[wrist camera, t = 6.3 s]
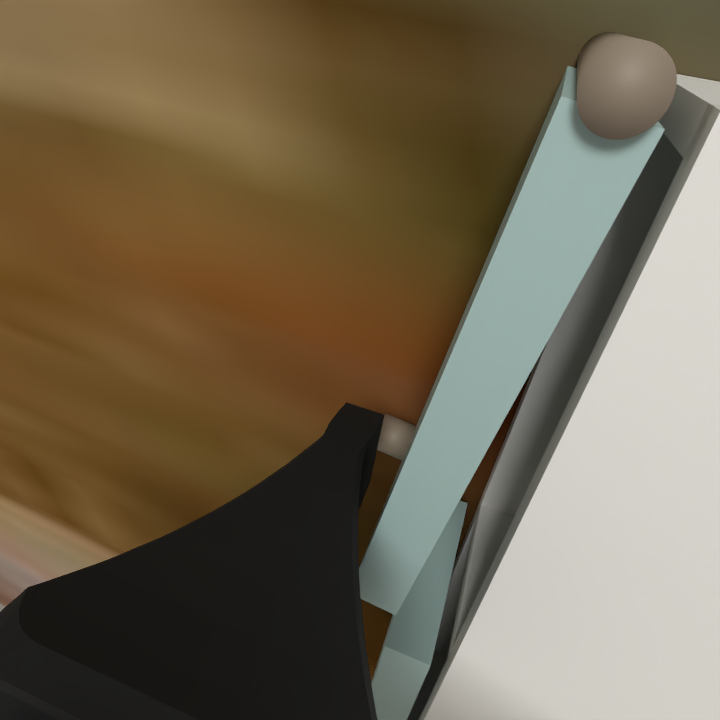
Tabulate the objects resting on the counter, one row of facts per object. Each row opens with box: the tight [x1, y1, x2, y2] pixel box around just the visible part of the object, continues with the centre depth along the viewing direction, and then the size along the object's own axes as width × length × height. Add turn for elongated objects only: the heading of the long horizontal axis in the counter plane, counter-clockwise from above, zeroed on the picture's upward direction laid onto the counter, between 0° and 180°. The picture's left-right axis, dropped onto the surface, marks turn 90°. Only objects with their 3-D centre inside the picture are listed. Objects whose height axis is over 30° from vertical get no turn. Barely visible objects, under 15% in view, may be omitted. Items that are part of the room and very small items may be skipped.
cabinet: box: [371, 74, 720, 720], centre depth 11 cm, size 10×18×5 cm, turn 171°
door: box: [359, 32, 677, 615], centre depth 9 cm, size 2×10×5 cm, turn 165°
